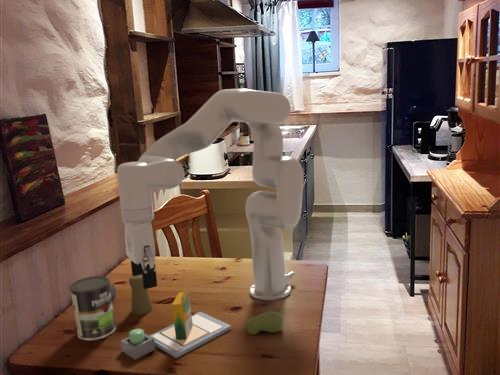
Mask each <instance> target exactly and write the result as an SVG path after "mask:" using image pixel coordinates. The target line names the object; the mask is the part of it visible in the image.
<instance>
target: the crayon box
mask: <svg viewBox="0 0 500 375" xmlns="http://www.w3.org/2000/svg"><path fill="white" fill-rule="evenodd" d="M190 299H191V298H190V289H189V285H187V286H186V289H185V290H184V291H182V292H179V291H178V293H177V295H176V296H175V299H174V301H173V302H172V303H171V308H172V310H171V311H172V317H173V324H174V326H175V334H176V339H177V340H185V339H187V338H188V335H189V333H190V331H191V329H192V326H193V322H192V315H193V314H192V308H191V307H192V306H191V300H190Z"/></svg>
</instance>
